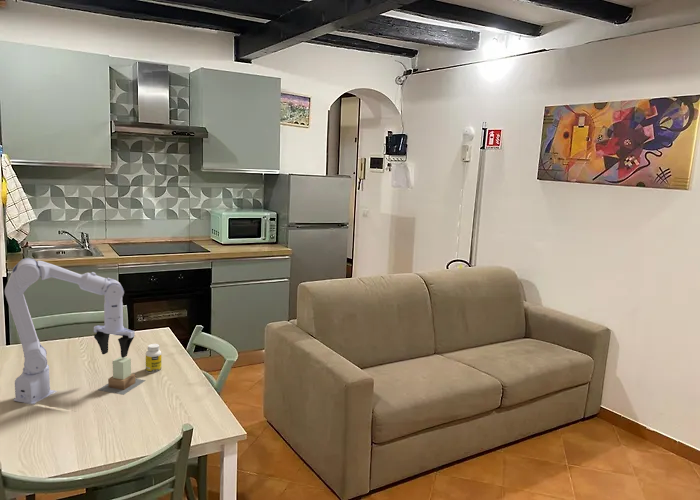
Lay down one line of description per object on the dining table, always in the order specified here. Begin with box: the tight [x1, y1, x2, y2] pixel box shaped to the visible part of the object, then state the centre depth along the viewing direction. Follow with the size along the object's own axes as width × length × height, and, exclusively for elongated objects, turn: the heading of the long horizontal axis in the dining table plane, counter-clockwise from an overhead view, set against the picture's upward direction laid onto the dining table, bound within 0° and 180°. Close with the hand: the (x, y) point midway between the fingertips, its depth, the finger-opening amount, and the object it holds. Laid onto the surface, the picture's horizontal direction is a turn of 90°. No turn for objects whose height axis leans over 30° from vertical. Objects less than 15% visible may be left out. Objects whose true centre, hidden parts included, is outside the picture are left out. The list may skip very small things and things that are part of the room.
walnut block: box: [107, 373, 136, 390], centre depth 184 cm, size 6×6×3 cm
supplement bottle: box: [145, 343, 162, 374], centre depth 198 cm, size 5×5×10 cm
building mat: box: [97, 378, 146, 396], centre depth 185 cm, size 12×10×1 cm
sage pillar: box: [112, 356, 132, 380], centre depth 184 cm, size 4×4×6 cm
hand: (114, 355), depth 185 cm, fingers open, 7 cm apart
